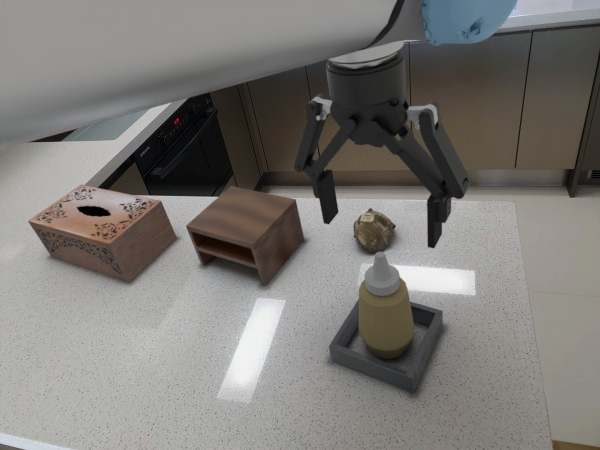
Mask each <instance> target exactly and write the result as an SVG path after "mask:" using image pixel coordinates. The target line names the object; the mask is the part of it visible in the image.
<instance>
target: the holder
mask: <svg viewBox="0 0 600 450" xmlns="http://www.w3.org/2000/svg"><path fill="white" fill-rule="evenodd" d="M410 305H411V311H412V316H413V321H414V323H418V324H421V325H423V326H427V327H428V329H427V332H426V334H425V335H424V338H423V339H422V342H421V344H420V346H419V348H418V351H417V353H416V354H415V357H414V359H413V361H412V363H411V366H410V368H409V370H406V369H403V368H401V367H398V366H396V365H392V364H390V363H387V362H384V361H382V360H379V359H377V358H373V357H372V356H369V355H365V354H363V353H360V352H359V351H358V352H357V351H355V350H352V349H350V348H347V345H348V344H349V342H350V341H351V339H352V337H353V336H354V335H355V332H356V331H357V329H358V328H359V298H358V299H357V301H356V302H355V303H354V306H353V307H352V308H351V310H350V312H349V313H348V314H347V317H346V318H345V319H344V321H343V323H342V325H341V326H340V328H339V329H338V331H337V333H336V334H335V336H334V337H333V339H332V340H331V342H330V343H329V345H328V350H329V354H330V359H331V362H332V363H336V364H339V365H340V366H343V367H346V368H348V369H350V370H353V371H356V372H359V373H361V374H363V375H366V376H369V377H370V378H373V379H376V380H379V381H381V382H383V383H386V384H389V385H391V386H394V387H396V388H398V389H401V390H403V391H406V392H408V393H411V394H414V392H415V389H416V388H417V385H418V383H419V381H420V378H421V376H422V374H423V372H424V369H425V367H426V364H427V362H428V360H429V358H430V356H431V353H432V351H433V349H434V347H435V344H436V342H437V340H438V337H439V335H440V333H441V330H442V328H443V319H444V318H443V317H444V311H443V310H441V309H439V308H438V309H437V308H434V307H430V306H427V305H424V304H420V303H417V302H415V301H411V300H410Z"/></svg>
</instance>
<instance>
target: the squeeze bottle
mask: <svg viewBox="0 0 600 450" xmlns="http://www.w3.org/2000/svg"><path fill="white" fill-rule="evenodd" d="M363 278H364V280H362V282H361V283H360V286H359V288H358V299H359V326H358V332H359V336H360V338H361V339H362V341H363V342H364V343H365V345H366V346H367V348H368V350H369V351H371V353H372V354H373V355H374V356H376V357H378V358H380V359H385V360H390V359H397V358H398V357H400V356H402V355H403V354H404V353H405V351H406V350H407V349H408V346H409V345H410V343H411V341H412V340H413V337H414V334H415V328H416V327H415V322H414V321H413V316H412V311H411V305H410V301H411V300H410V295H409V289H408V286H407V283H406V282H405V280H404V279H403V278H402V277H401V275H400V271H399V269H397V268H396V266H393V265H392V264H389V261H388V259H387V257H386V253H385V252H383V251H376V253H375V255H374V260H373V265H372V266H370V267H368V268H367V269H366V270H365V273H364V275H363Z"/></svg>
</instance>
